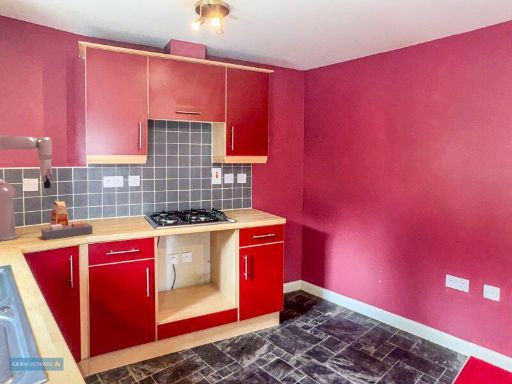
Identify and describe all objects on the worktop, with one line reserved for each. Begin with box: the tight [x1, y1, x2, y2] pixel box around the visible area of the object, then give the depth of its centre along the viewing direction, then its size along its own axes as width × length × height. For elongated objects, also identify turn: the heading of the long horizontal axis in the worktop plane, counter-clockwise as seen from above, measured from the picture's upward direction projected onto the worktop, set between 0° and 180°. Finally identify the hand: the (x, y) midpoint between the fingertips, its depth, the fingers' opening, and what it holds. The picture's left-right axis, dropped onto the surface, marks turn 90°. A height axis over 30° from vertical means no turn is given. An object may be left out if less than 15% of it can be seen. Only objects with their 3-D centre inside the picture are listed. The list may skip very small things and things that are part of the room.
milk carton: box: [49, 199, 70, 226], centre depth 242 cm, size 9×9×20 cm
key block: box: [41, 222, 93, 241], centre depth 229 cm, size 11×26×5 cm, turn 130°
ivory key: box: [49, 224, 63, 230], centre depth 225 cm, size 6×6×5 cm
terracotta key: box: [71, 221, 85, 227], centre depth 232 cm, size 6×6×5 cm
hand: (47, 187), depth 226 cm, fingers closed
